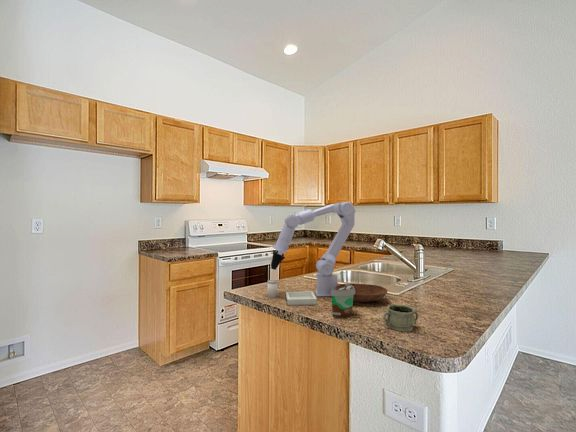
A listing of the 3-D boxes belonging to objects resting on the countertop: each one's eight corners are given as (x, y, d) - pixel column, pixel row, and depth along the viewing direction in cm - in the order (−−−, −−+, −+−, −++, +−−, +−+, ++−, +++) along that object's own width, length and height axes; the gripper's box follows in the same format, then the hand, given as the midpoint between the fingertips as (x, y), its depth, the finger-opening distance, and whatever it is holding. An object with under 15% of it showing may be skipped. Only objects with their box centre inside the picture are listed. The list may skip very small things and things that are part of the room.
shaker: (277, 295, 139) (277, 279, 139) (277, 297, 134) (277, 281, 134) (267, 295, 138) (267, 279, 138) (267, 297, 134) (267, 282, 134)
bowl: (390, 308, 119) (390, 296, 119) (333, 305, 123) (333, 293, 123) (384, 295, 138) (384, 284, 138) (336, 292, 142) (336, 282, 142)
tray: (312, 296, 135) (312, 291, 135) (316, 305, 123) (316, 298, 123) (285, 297, 135) (285, 291, 135) (287, 305, 123) (287, 299, 123)
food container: (346, 321, 105) (346, 292, 105) (330, 317, 109) (330, 289, 109) (360, 311, 115) (360, 285, 115) (346, 308, 119) (346, 283, 119)
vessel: (411, 321, 105) (411, 303, 105) (425, 331, 96) (425, 311, 96) (377, 323, 103) (377, 304, 103) (389, 333, 95) (389, 313, 95)
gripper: (275, 235, 144) (264, 262, 144) (276, 237, 130) (264, 266, 129) (289, 241, 145) (278, 267, 144) (291, 243, 130) (279, 273, 130)
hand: (272, 267), depth 137 cm, fingers open, 7 cm apart
